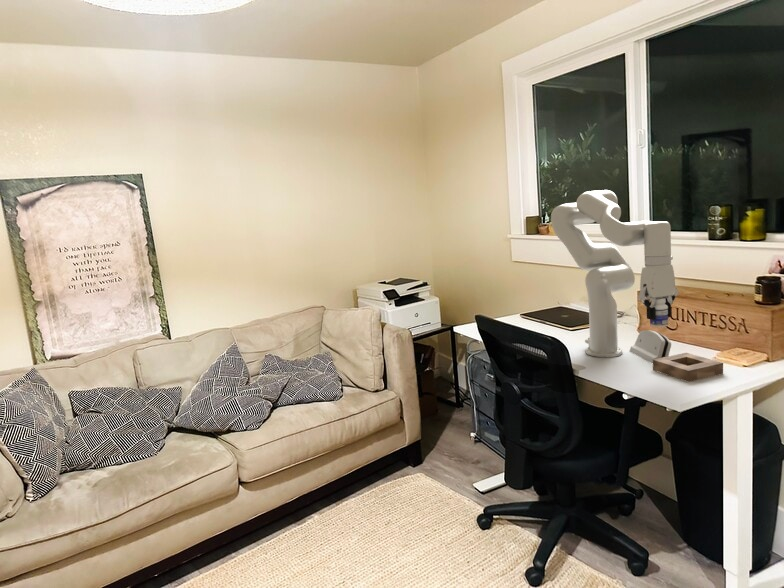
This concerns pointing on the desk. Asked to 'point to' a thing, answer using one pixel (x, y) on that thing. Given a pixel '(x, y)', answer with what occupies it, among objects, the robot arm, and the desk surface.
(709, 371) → the socket block
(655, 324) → the pill bottle
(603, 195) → the robot arm
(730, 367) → the desk surface
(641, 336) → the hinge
